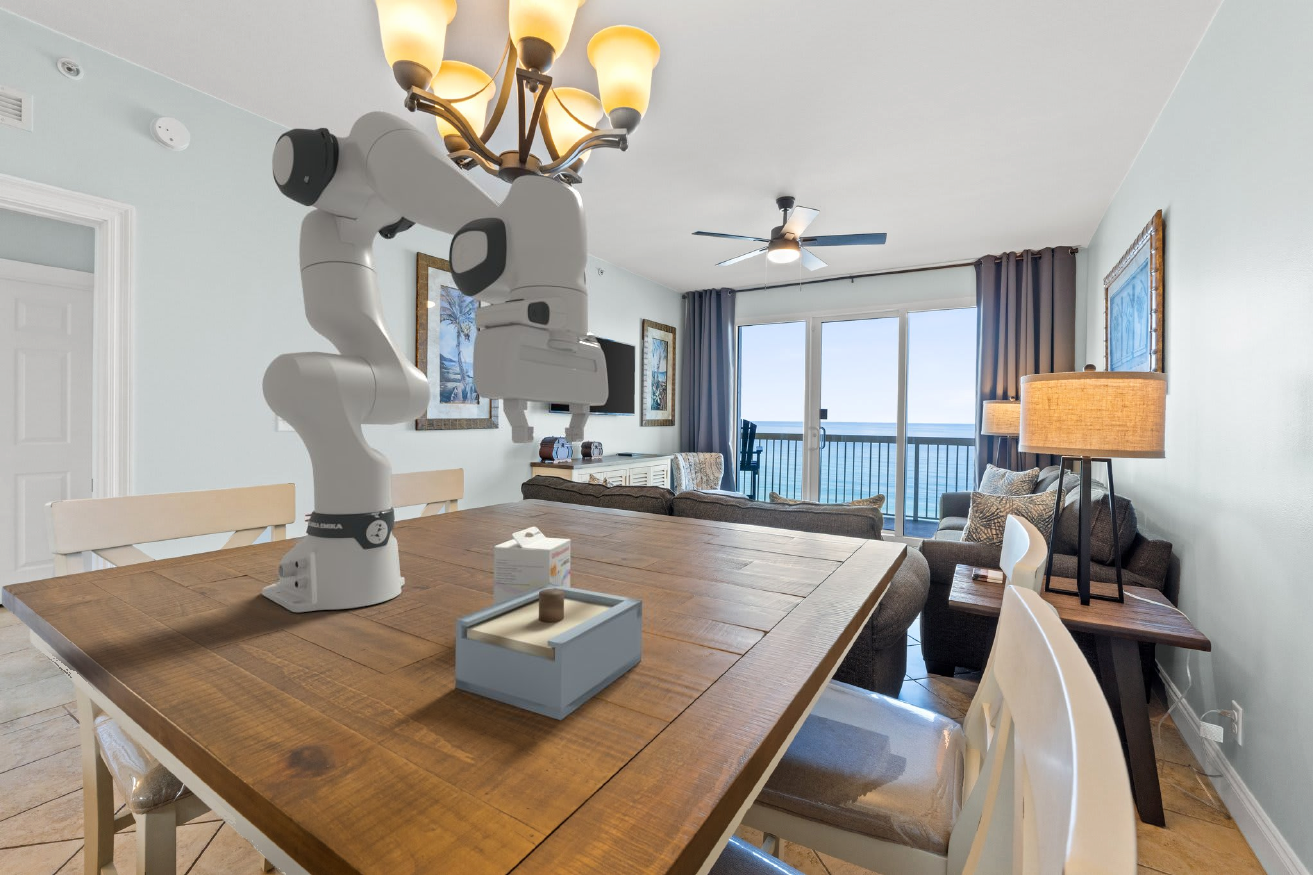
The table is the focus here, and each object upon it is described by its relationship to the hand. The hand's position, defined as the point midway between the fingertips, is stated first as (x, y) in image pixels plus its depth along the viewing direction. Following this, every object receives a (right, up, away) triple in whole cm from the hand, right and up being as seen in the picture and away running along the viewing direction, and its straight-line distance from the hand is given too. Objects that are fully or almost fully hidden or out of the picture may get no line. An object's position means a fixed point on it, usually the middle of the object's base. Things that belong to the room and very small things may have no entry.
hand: (550, 442), depth 65 cm
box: (0, -26, 0) cm, 26 cm away
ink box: (-6, -26, +17) cm, 32 cm away
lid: (0, -21, -1) cm, 21 cm away
